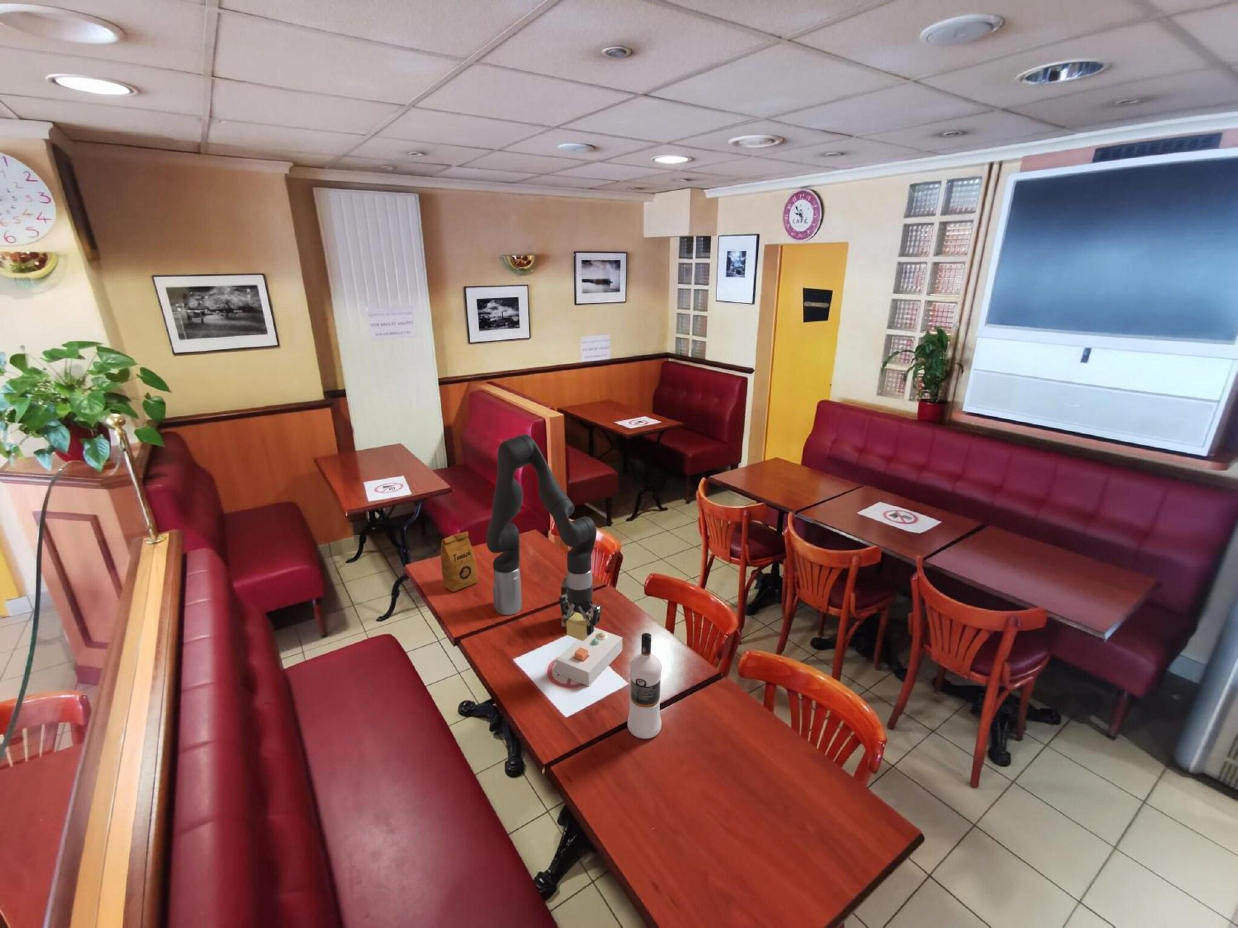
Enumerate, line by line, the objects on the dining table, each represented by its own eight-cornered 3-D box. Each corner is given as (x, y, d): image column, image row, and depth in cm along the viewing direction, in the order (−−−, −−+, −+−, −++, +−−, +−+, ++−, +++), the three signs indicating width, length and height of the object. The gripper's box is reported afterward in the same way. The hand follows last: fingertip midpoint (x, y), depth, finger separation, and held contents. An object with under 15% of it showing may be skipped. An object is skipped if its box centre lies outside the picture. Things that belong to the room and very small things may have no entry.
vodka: (666, 722, 162) (670, 630, 152) (651, 745, 154) (654, 650, 145) (637, 710, 166) (638, 620, 156) (621, 732, 159) (621, 638, 149)
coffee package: (481, 584, 230) (477, 534, 223) (451, 595, 223) (446, 543, 216) (470, 574, 238) (465, 525, 230) (440, 584, 230) (435, 534, 223)
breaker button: (574, 665, 182) (574, 652, 180) (580, 660, 184) (579, 647, 182) (582, 669, 180) (582, 655, 178) (588, 663, 183) (588, 650, 181)
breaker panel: (556, 672, 181) (555, 655, 179) (591, 638, 198) (591, 622, 196) (589, 686, 176) (588, 668, 174) (622, 650, 192) (622, 633, 190)
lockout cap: (566, 634, 177) (566, 620, 175) (578, 624, 182) (577, 611, 180) (583, 641, 174) (583, 626, 173) (594, 630, 179) (594, 616, 177)
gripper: (552, 581, 173) (554, 629, 178) (593, 594, 166) (593, 644, 171) (567, 570, 179) (568, 617, 184) (607, 582, 172) (607, 631, 177)
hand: (580, 630), depth 178 cm, fingers closed on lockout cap, 6 cm apart
